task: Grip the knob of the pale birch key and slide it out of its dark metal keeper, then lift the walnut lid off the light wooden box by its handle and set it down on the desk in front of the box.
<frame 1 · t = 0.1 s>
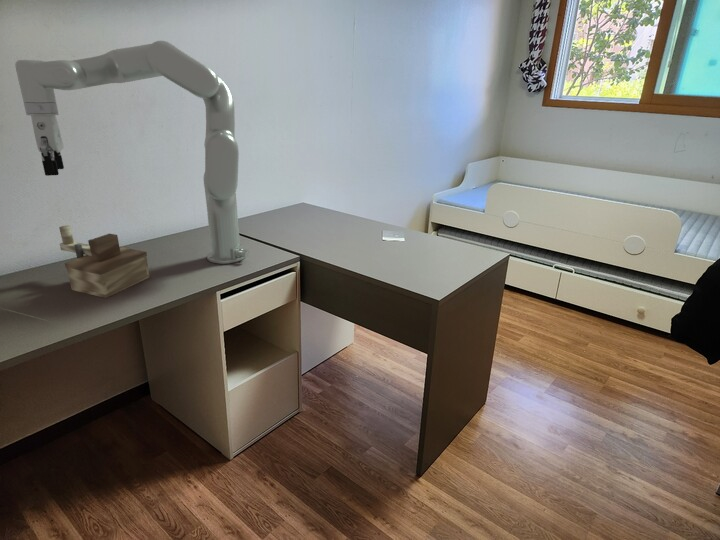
hand: (55, 172, 134), 31 cm above the table, tool pointing down, fingers open, 9 cm apart
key: (78, 240, 137), point 12 cm above the table, slide at 0.0 cm
light wooden box: (112, 283, 138), on the table
lid: (107, 261, 135), point 7 cm above the table, touching light wooden box
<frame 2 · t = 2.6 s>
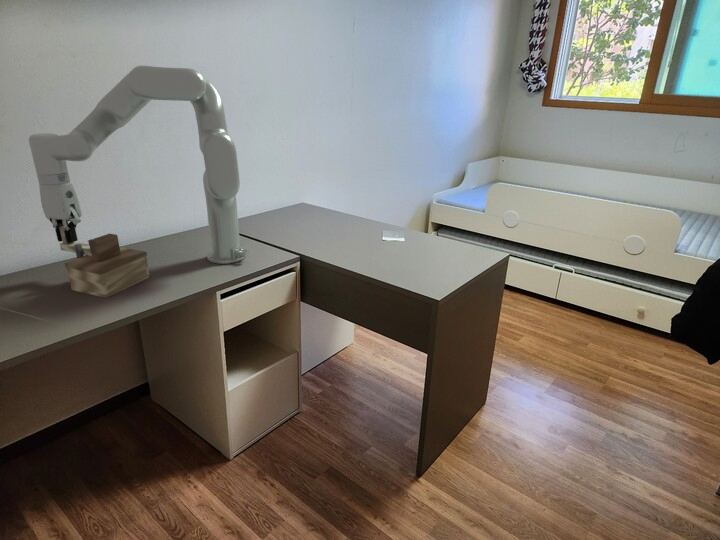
hand: (67, 240, 138), 11 cm above the table, tool pointing down, fingers closed on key, 2 cm apart
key: (78, 240, 137), point 12 cm above the table, slide at 0.0 cm, touching gripper
everything else where it was.
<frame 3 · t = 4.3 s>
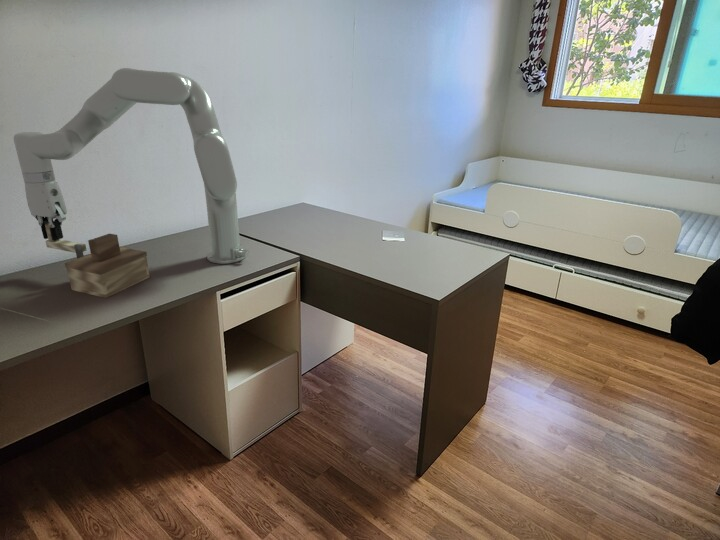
hand: (53, 237, 140), 11 cm above the table, tool pointing down, fingers closed on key, 2 cm apart
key: (64, 237, 139), point 12 cm above the table, slide at 5.9 cm, touching gripper
everything else where it was.
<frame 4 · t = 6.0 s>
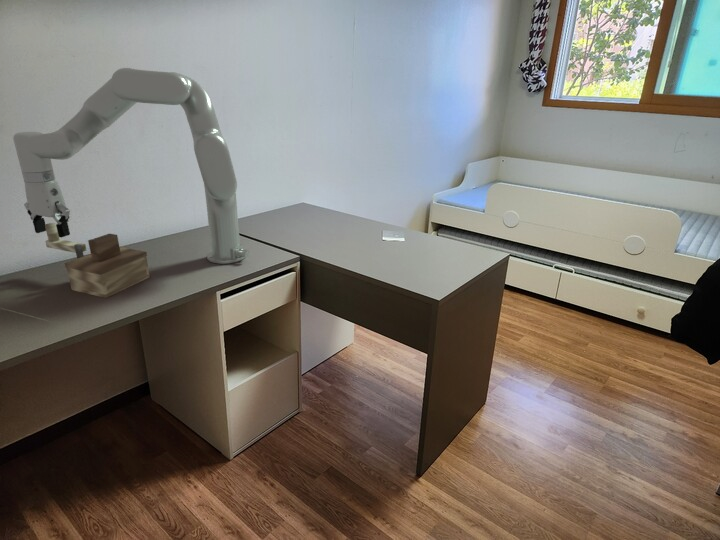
hand: (52, 234, 140), 12 cm above the table, tool pointing down, fingers open, 9 cm apart
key: (64, 237, 139), point 12 cm above the table, slide at 6.0 cm
everything else where it was.
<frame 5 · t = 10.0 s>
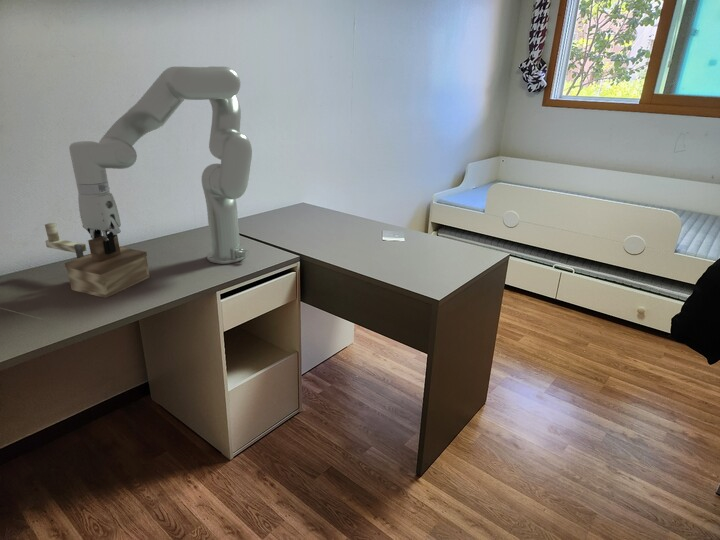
hand: (105, 251, 134), 10 cm above the table, tool pointing down, fingers closed on lid, 3 cm apart
lid: (107, 261, 135), point 7 cm above the table, touching gripper, light wooden box
everything else where it was.
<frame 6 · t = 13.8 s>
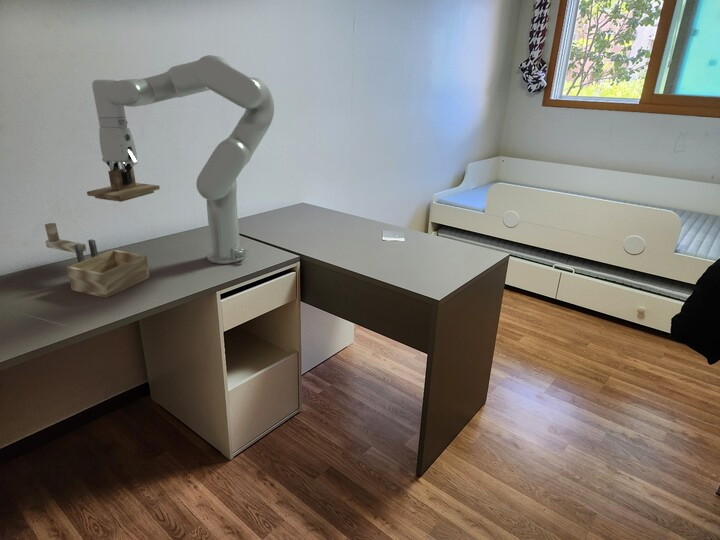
hand: (123, 182, 149), 25 cm above the table, tool pointing down, fingers closed on lid, 3 cm apart
lid: (124, 192, 150), point 22 cm above the table, touching gripper
everything else where it was.
when the fingers open (5 cm above the table, at t = 17.9 s): lid drops 2 cm, point 1 cm above the table.
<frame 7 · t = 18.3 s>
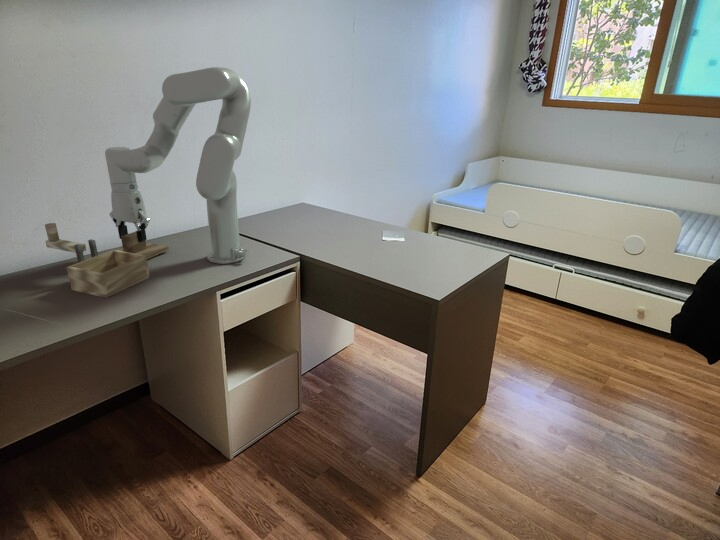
hand: (133, 239, 156), 6 cm above the table, tool pointing down, fingers open, 7 cm apart
lid: (136, 254, 159), point 1 cm above the table
everything else where it was.
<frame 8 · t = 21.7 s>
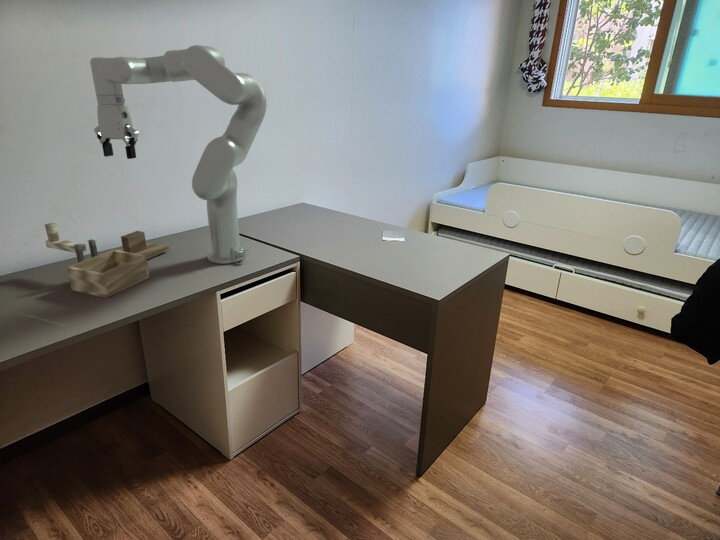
hand: (120, 157, 151), 32 cm above the table, tool pointing down, fingers open, 9 cm apart
nothing on the table moved.
at the end: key slide at 6.0 cm; lid inside the target area (0.1 cm from its centre), point 0.6 cm above the table; lid tilted 0° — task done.
